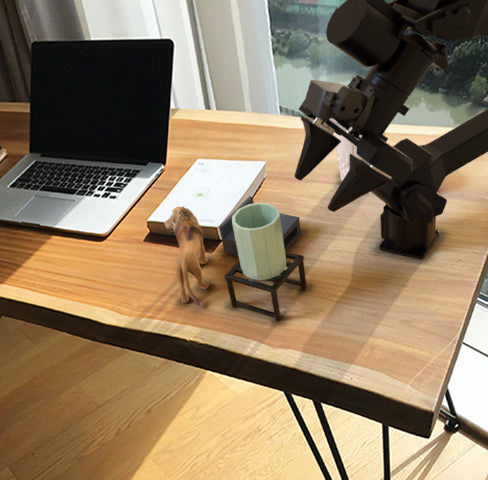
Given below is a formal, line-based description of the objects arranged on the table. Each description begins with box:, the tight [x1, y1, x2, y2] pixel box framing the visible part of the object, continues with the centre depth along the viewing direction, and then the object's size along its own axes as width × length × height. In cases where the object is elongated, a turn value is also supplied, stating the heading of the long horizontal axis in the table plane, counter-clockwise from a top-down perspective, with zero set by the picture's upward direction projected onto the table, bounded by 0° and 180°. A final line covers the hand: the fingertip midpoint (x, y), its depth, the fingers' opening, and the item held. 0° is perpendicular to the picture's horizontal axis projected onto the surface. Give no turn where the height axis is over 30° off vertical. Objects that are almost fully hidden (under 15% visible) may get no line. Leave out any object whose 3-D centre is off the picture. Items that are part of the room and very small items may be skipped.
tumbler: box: [232, 202, 287, 281], centre depth 88 cm, size 6×6×8 cm
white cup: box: [333, 127, 386, 182], centre depth 109 cm, size 8×8×10 cm
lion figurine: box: [164, 206, 210, 307], centre depth 98 cm, size 15×5×9 cm, turn 6°
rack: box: [224, 250, 308, 322], centre depth 92 cm, size 8×8×6 cm
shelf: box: [218, 195, 302, 258], centre depth 102 cm, size 9×9×5 cm
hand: (313, 193), depth 87 cm, fingers open, 9 cm apart
